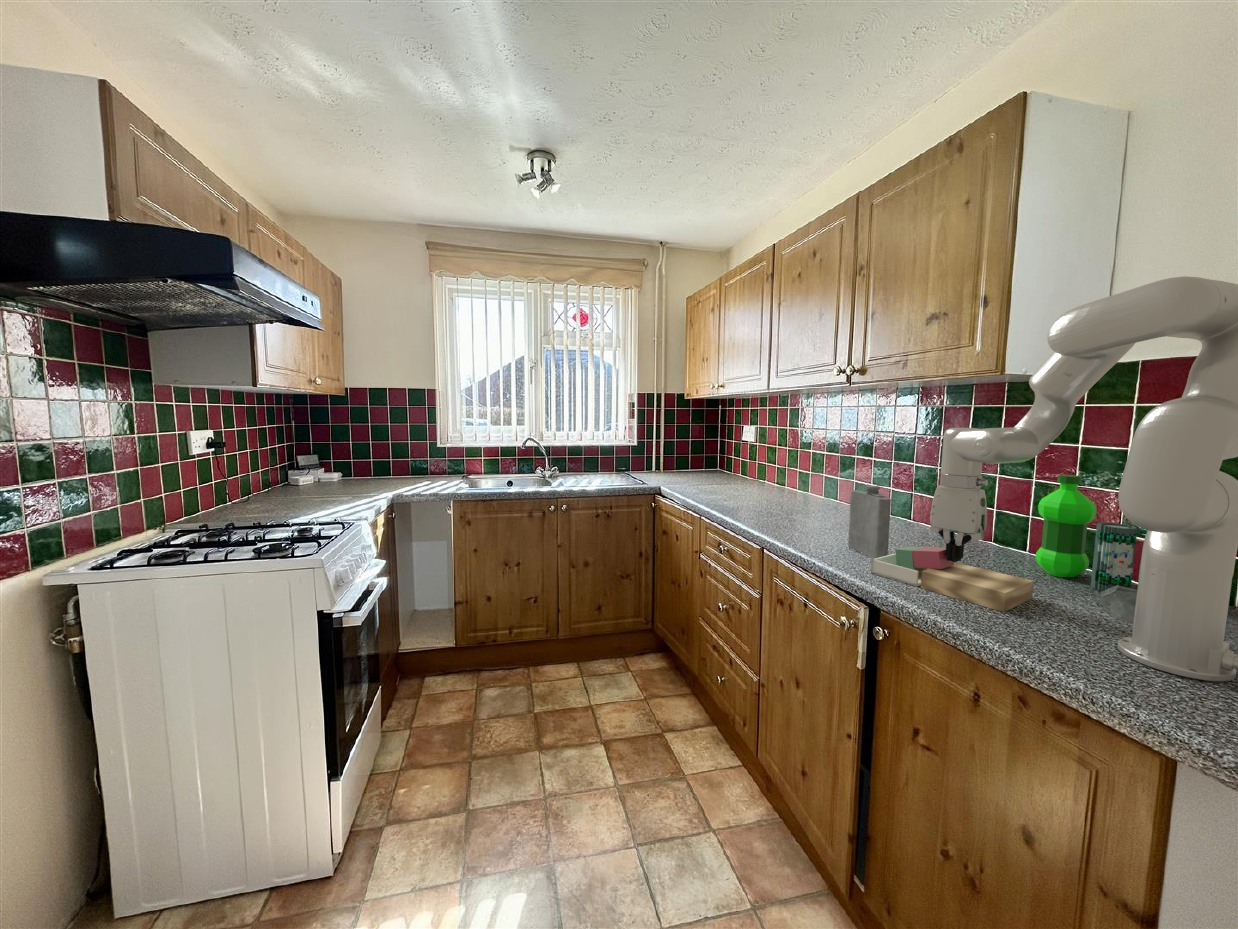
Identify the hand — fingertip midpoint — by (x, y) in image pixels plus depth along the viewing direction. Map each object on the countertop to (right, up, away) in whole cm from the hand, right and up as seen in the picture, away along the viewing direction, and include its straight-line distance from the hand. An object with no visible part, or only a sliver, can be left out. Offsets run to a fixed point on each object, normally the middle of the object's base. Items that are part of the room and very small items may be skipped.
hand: (953, 560), depth 112 cm
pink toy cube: (-2, -2, +4) cm, 5 cm away
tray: (-5, -5, +9) cm, 12 cm away
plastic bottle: (+33, -6, +9) cm, 35 cm away
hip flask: (-6, -4, +26) cm, 27 cm away
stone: (+25, -8, -16) cm, 31 cm away
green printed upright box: (+35, -7, -1) cm, 36 cm away
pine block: (+2, -7, -3) cm, 8 cm away
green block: (-4, -1, +6) cm, 8 cm away
